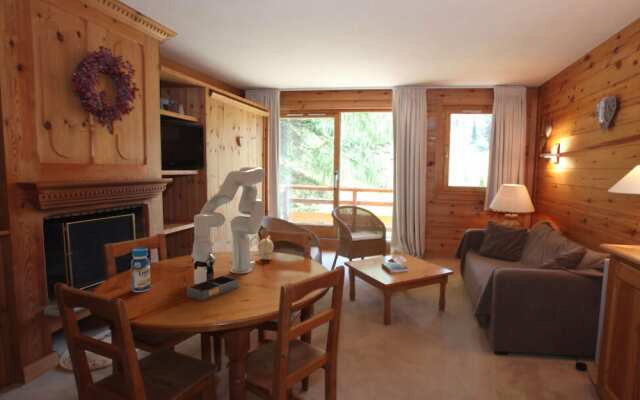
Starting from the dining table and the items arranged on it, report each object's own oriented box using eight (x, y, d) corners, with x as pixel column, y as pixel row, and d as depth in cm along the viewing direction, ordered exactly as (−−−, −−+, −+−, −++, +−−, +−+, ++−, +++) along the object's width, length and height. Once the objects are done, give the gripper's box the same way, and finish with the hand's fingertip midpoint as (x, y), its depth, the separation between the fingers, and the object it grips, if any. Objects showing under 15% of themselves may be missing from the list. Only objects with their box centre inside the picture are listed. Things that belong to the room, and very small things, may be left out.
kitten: (261, 256, 245) (261, 234, 243) (276, 256, 244) (276, 234, 242) (255, 262, 230) (255, 238, 229) (270, 262, 229) (270, 238, 228)
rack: (222, 283, 188) (222, 275, 188) (238, 287, 182) (238, 279, 182) (186, 296, 169) (186, 287, 169) (204, 301, 163) (204, 292, 163)
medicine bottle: (207, 284, 183) (206, 261, 182) (194, 283, 185) (193, 260, 183) (214, 280, 190) (213, 257, 189) (201, 279, 192) (200, 256, 190)
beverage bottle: (141, 286, 183) (140, 246, 181) (154, 288, 180) (153, 248, 178) (127, 291, 175) (125, 250, 173) (141, 293, 172) (139, 251, 170)
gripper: (184, 238, 186) (186, 271, 188) (208, 242, 177) (210, 276, 179) (196, 235, 192) (198, 267, 194) (220, 239, 183) (221, 272, 185)
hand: (203, 271), depth 187 cm, fingers closed on medicine bottle, 8 cm apart
